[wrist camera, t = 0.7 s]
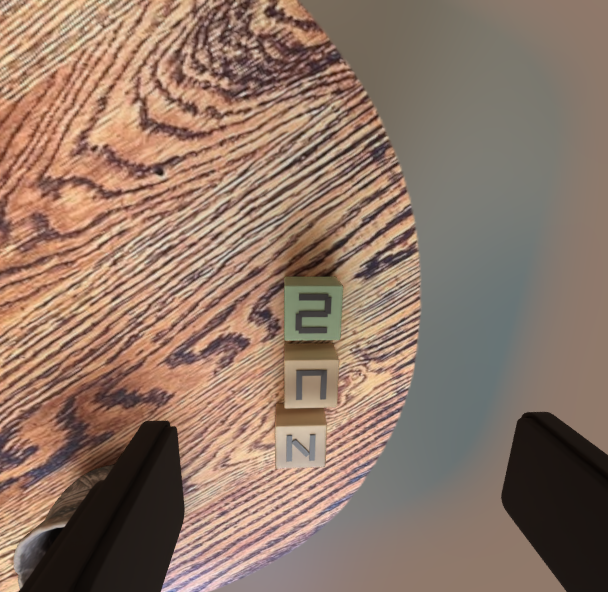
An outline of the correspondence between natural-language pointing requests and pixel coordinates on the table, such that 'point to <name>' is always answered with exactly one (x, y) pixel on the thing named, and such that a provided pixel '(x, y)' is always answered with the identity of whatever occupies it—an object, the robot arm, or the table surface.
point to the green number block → (312, 308)
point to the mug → (53, 524)
